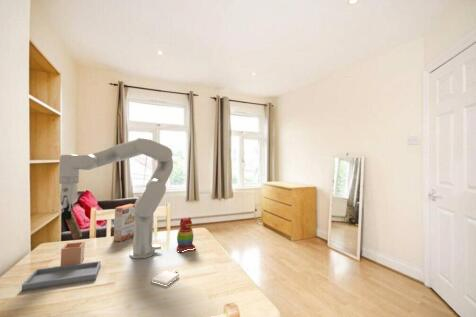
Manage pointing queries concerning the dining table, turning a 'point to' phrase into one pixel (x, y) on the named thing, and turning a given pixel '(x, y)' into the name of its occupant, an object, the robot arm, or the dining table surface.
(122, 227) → the cracker box
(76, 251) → the square clay planter
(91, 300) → the dining table surface
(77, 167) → the robot arm
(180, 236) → the stacking bear
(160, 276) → the perfume bottle
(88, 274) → the grey tray
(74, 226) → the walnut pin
